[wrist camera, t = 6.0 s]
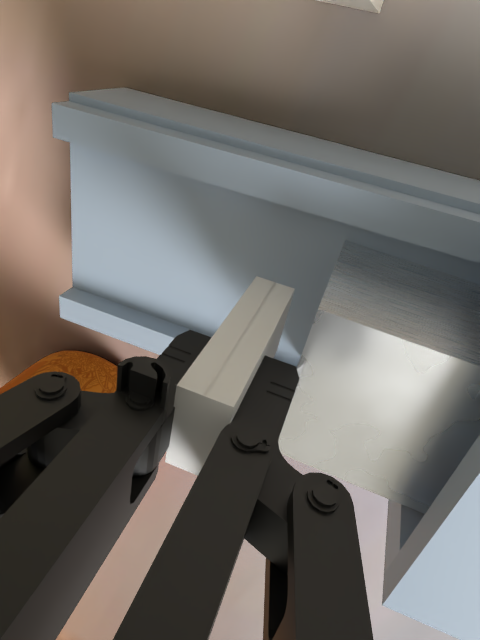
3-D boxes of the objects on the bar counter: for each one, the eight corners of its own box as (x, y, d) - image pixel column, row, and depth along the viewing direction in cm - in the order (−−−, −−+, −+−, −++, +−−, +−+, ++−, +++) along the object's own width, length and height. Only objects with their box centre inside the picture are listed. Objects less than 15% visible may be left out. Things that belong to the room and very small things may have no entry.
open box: (125, 87, 20) (-133, 109, 11) (661, 228, 16) (1005, 460, 7) (116, 280, 26) (-60, 410, 16) (519, 421, 22) (599, 701, 12)
